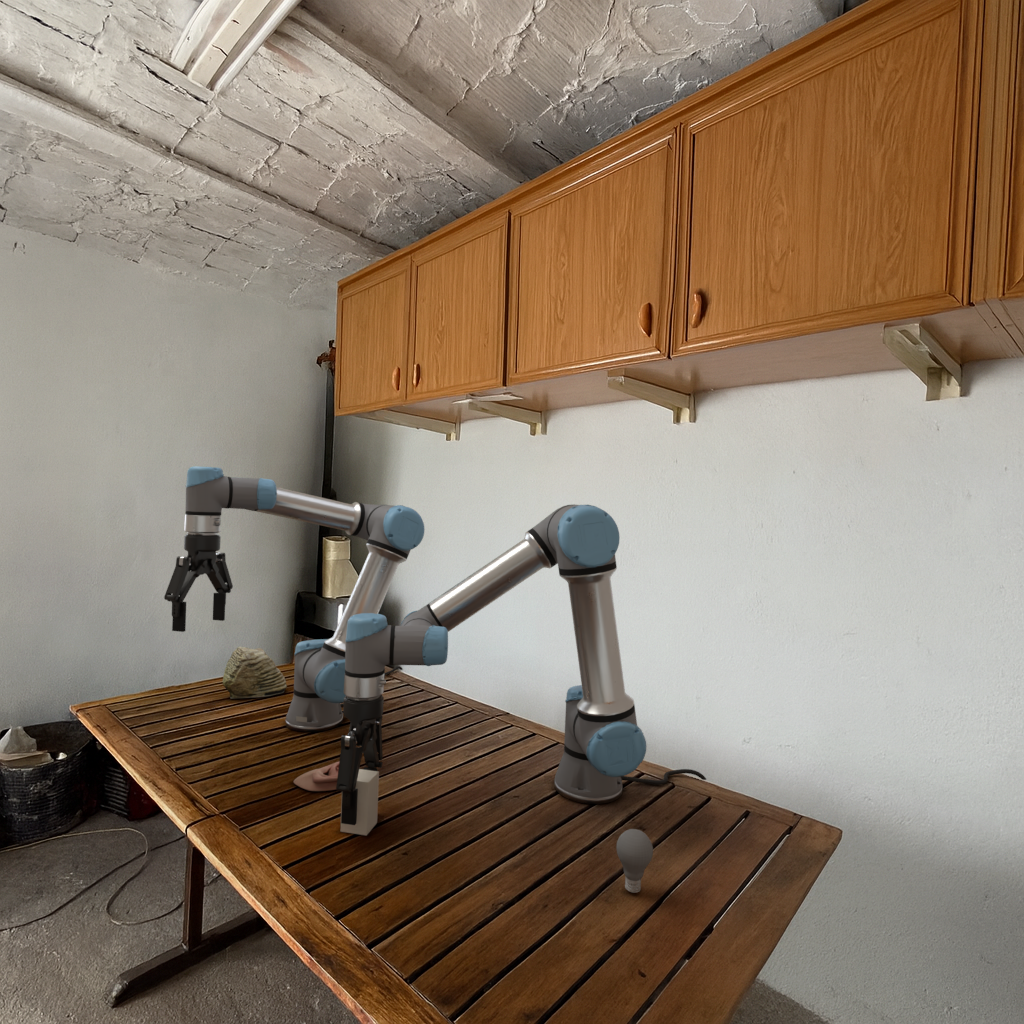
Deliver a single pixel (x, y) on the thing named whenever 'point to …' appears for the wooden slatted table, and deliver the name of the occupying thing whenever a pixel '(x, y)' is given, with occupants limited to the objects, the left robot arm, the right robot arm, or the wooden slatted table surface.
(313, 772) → the anatomical model
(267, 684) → the fossil
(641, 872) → the light bulb
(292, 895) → the wooden slatted table surface
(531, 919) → the wooden slatted table surface
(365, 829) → the block
